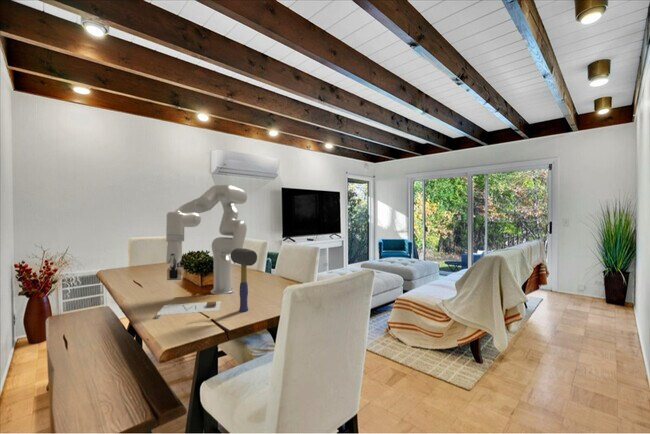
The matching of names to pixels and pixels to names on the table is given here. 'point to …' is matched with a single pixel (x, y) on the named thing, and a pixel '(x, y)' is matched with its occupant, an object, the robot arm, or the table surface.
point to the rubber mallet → (243, 272)
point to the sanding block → (179, 274)
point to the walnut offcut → (210, 304)
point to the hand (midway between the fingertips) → (174, 276)
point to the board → (186, 308)
